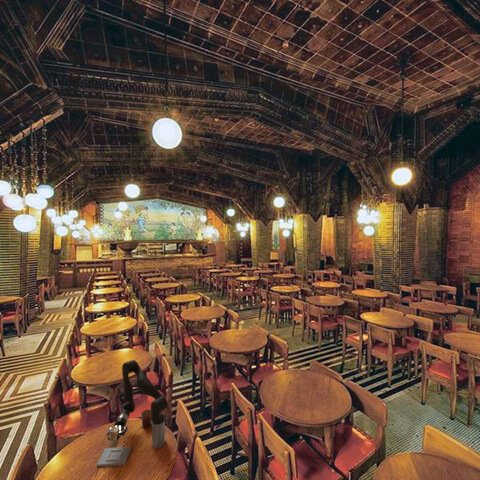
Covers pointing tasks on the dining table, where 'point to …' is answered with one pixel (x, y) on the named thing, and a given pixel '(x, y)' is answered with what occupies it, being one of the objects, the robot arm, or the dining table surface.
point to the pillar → (113, 437)
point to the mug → (146, 418)
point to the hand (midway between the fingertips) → (113, 438)
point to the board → (114, 456)
